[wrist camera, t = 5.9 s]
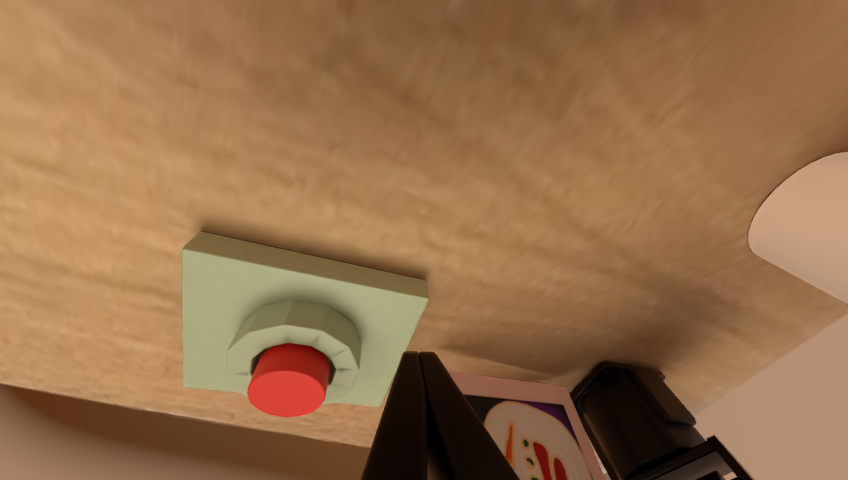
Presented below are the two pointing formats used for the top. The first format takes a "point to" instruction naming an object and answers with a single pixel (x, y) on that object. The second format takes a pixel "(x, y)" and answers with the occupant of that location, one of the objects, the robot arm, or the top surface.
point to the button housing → (292, 316)
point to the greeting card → (532, 427)
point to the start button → (289, 380)
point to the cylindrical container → (808, 225)
